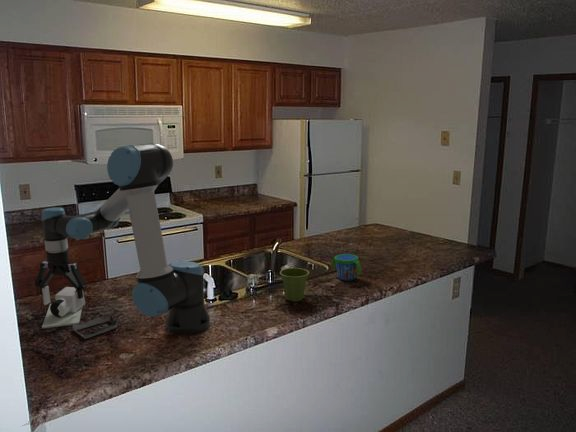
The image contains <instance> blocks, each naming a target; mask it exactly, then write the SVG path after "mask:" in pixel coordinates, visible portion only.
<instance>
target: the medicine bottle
mask: <svg viewBox="0 0 576 432" xmlns="http://www.w3.org/2000/svg"><path fill="white" fill-rule="evenodd" d="M75 290H76V289H75V288H74V287H73V286H65V287H63V289H61V290H60V291H59V292H57V293H56V294H54V298H55V301H54V302H53V303H50V304H51V306H50V305H49V306H50V311H51V313H52V314H53V315H54V316H56V317H63V316H64V315H65V314H66V313H75V312H77V311H78V310H79V309H80V308H81V307H82V308H83V307H84V306H85V305H86V299H85V295H84V294H85V293H83V297H82V306H80V307H78V308H76V302H75V292H74V291H75Z"/></svg>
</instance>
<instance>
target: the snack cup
mask: <svg viewBox="0 0 576 432" xmlns="http://www.w3.org/2000/svg"><path fill="white" fill-rule="evenodd" d="M331 267H332V269H335V268H336V272H337V273H336V276H337V278H338V279H339V280H340V281H344V282H347V281H353V280H355V277H356V276H360V275H361V274H362V273H363V272H362V265H361V262H360V261H359V257H358V256H357V255H355V254H351V253H342V254H341V253H340V254H338V255H335V256H334V257H333V258H332V262H331ZM356 272H357V273H356ZM356 274H357V275H356Z"/></svg>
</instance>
